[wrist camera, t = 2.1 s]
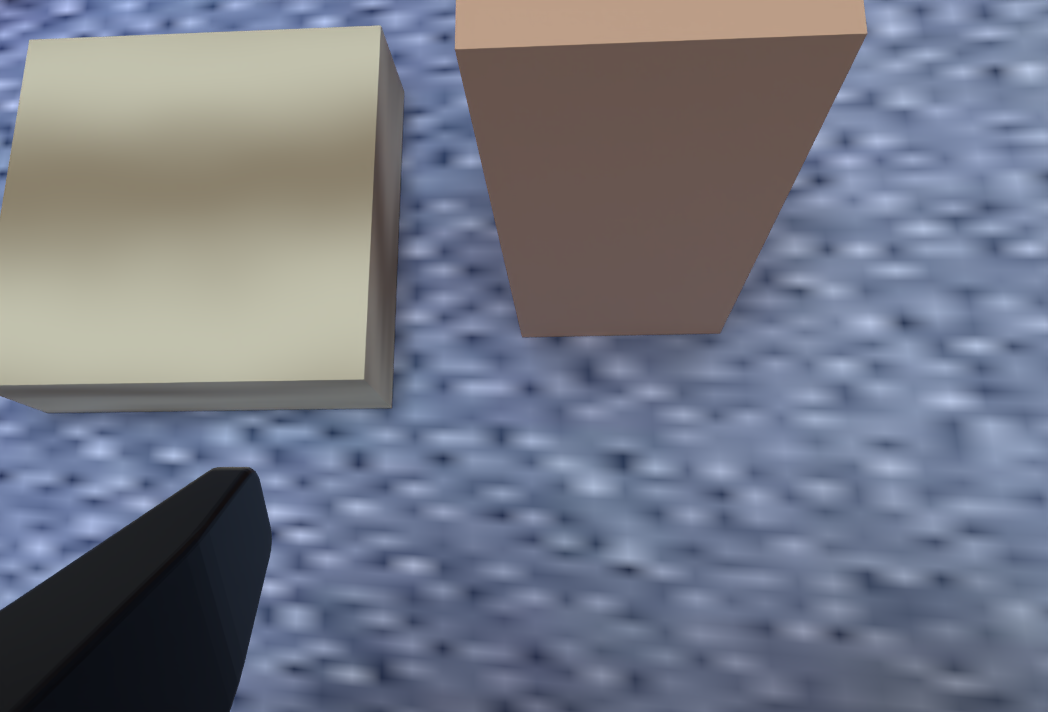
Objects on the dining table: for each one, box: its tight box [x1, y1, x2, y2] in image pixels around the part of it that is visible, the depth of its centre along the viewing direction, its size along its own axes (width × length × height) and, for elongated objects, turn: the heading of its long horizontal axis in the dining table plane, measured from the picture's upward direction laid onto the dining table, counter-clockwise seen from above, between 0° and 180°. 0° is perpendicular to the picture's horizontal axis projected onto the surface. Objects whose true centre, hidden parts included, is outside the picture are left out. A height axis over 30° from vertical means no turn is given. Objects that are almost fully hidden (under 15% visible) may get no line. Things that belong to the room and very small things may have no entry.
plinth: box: [0, 26, 404, 413], centre depth 23 cm, size 9×9×3 cm
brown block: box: [455, 0, 867, 337], centre depth 18 cm, size 5×5×12 cm
